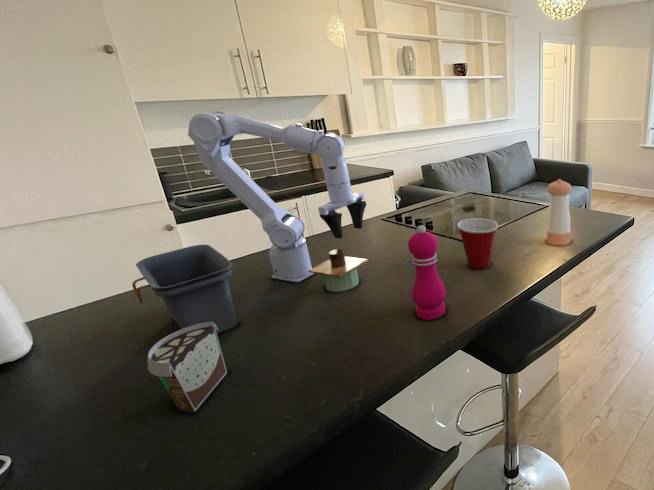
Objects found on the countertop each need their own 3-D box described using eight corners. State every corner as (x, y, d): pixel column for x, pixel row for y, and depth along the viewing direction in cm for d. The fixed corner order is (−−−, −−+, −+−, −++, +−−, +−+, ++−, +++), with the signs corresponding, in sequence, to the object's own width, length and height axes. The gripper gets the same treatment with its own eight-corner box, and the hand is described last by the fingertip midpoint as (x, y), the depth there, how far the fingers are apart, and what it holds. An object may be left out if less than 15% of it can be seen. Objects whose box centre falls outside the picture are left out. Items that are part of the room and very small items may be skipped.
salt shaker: (574, 239, 126) (576, 177, 119) (564, 247, 120) (566, 183, 113) (553, 235, 130) (553, 176, 123) (542, 243, 124) (542, 181, 117)
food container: (196, 370, 73) (177, 322, 70) (231, 367, 74) (214, 319, 70) (146, 422, 62) (121, 369, 58) (189, 418, 62) (166, 365, 59)
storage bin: (256, 325, 87) (237, 264, 82) (167, 361, 76) (138, 294, 71) (224, 296, 100) (206, 242, 95) (145, 323, 90) (119, 264, 84)
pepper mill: (453, 306, 91) (445, 221, 83) (438, 323, 85) (428, 232, 77) (424, 302, 93) (414, 218, 86) (408, 318, 87) (395, 230, 79)
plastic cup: (495, 274, 105) (493, 230, 101) (455, 272, 107) (451, 229, 103) (503, 257, 115) (502, 217, 110) (466, 256, 117) (463, 216, 113)
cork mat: (308, 272, 99) (304, 257, 98) (337, 256, 108) (334, 242, 106) (340, 277, 96) (337, 262, 94) (368, 261, 104) (365, 246, 103)
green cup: (318, 289, 102) (314, 271, 100) (341, 275, 108) (337, 258, 107) (344, 293, 99) (340, 275, 97) (365, 279, 106) (362, 262, 104)
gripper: (329, 190, 96) (341, 243, 101) (369, 176, 109) (378, 225, 114) (307, 189, 99) (319, 241, 104) (348, 176, 111) (357, 223, 116)
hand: (348, 232), depth 109 cm, fingers open, 7 cm apart
